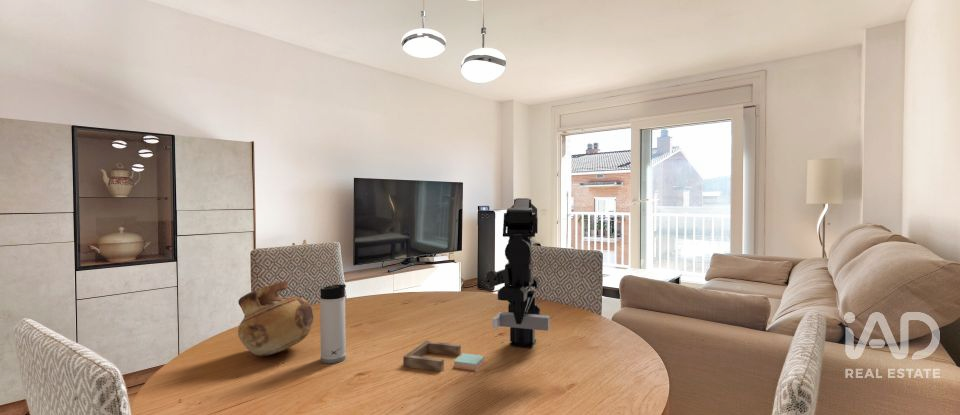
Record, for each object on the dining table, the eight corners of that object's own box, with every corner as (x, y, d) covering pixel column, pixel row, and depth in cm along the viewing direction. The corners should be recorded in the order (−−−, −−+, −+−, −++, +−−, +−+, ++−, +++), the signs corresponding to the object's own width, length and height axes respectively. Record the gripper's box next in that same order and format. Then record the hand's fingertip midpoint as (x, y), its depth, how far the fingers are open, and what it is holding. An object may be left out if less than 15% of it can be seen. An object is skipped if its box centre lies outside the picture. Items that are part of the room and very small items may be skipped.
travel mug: (339, 364, 110) (338, 287, 110) (315, 362, 111) (315, 286, 111) (351, 356, 116) (350, 282, 116) (329, 354, 117) (328, 282, 117)
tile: (484, 363, 111) (484, 356, 111) (476, 372, 106) (476, 364, 106) (463, 360, 113) (463, 353, 113) (454, 368, 108) (454, 361, 108)
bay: (460, 353, 117) (460, 344, 117) (441, 371, 105) (441, 361, 105) (426, 349, 121) (426, 340, 121) (403, 366, 109) (403, 356, 109)
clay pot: (271, 340, 130) (270, 274, 130) (327, 344, 126) (326, 276, 126) (221, 363, 111) (220, 287, 111) (284, 369, 107) (284, 289, 107)
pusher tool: (551, 325, 106) (551, 313, 106) (546, 333, 100) (546, 320, 100) (500, 320, 111) (500, 309, 110) (492, 328, 104) (492, 316, 104)
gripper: (499, 253, 117) (499, 310, 117) (476, 262, 99) (476, 330, 99) (539, 255, 113) (539, 314, 113) (523, 265, 95) (523, 334, 95)
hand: (520, 322), depth 105 cm, fingers closed on pusher tool, 2 cm apart
